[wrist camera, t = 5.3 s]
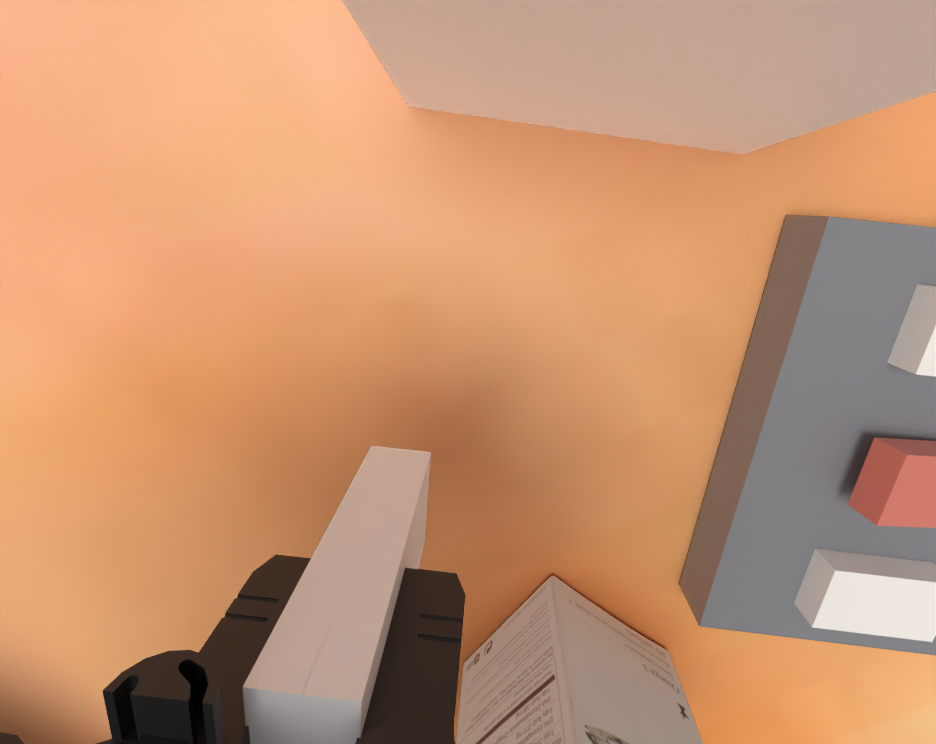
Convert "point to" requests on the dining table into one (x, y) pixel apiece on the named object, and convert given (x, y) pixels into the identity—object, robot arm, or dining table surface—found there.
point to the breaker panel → (824, 445)
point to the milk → (657, 63)
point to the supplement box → (571, 680)
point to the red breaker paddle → (898, 484)
